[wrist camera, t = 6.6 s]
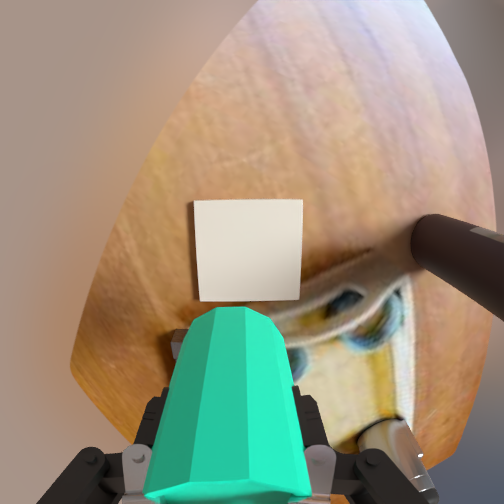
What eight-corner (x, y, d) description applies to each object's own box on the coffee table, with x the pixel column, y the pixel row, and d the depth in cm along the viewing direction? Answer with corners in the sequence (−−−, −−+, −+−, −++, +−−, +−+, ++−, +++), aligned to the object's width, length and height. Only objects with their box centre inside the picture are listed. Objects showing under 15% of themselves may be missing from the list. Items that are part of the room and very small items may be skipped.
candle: (164, 348, 16) (102, 530, 4) (229, 284, 15) (208, 520, 3) (237, 398, 17) (237, 565, 6) (304, 346, 16) (363, 535, 5)
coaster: (301, 198, 29) (303, 199, 28) (297, 295, 32) (299, 299, 31) (195, 200, 29) (193, 200, 28) (201, 297, 32) (200, 301, 31)
